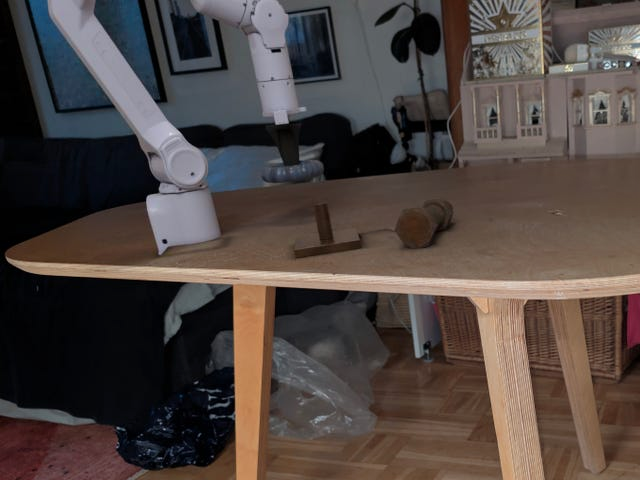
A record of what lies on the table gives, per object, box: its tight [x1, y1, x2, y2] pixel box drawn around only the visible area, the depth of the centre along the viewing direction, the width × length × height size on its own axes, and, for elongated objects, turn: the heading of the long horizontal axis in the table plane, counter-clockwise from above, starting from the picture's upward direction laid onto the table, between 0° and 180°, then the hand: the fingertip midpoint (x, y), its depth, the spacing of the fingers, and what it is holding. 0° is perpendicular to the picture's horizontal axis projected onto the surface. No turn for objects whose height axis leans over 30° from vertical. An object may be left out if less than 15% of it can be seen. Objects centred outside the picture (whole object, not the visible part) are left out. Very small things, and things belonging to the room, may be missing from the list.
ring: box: [260, 159, 325, 184], centre depth 114 cm, size 10×10×2 cm
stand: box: [293, 201, 362, 259], centre depth 100 cm, size 9×9×6 cm
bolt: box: [394, 198, 454, 249], centre depth 100 cm, size 6×5×15 cm
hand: (292, 167), depth 118 cm, fingers closed on ring, 2 cm apart
